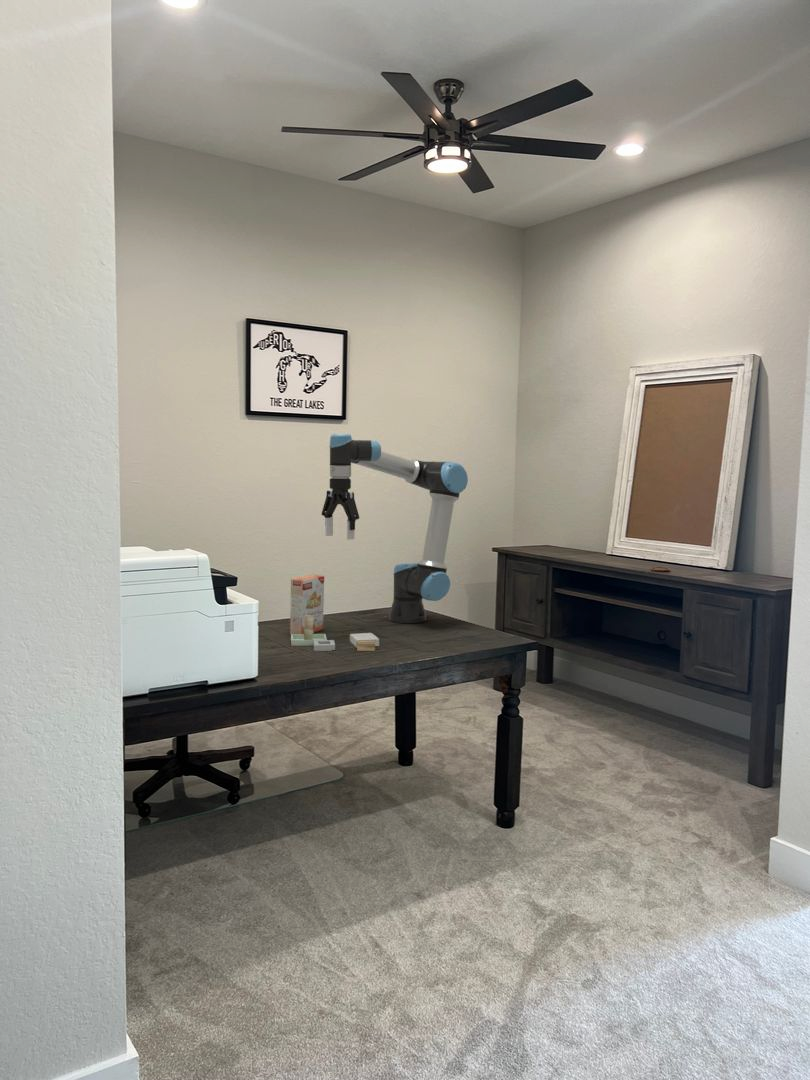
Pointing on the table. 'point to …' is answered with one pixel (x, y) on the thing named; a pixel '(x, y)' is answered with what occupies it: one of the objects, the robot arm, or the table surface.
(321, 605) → the cracker box
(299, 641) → the tray
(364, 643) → the wooden block
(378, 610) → the table surface
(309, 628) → the pestle
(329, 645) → the holder
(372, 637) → the white rectangular block
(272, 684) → the table surface
